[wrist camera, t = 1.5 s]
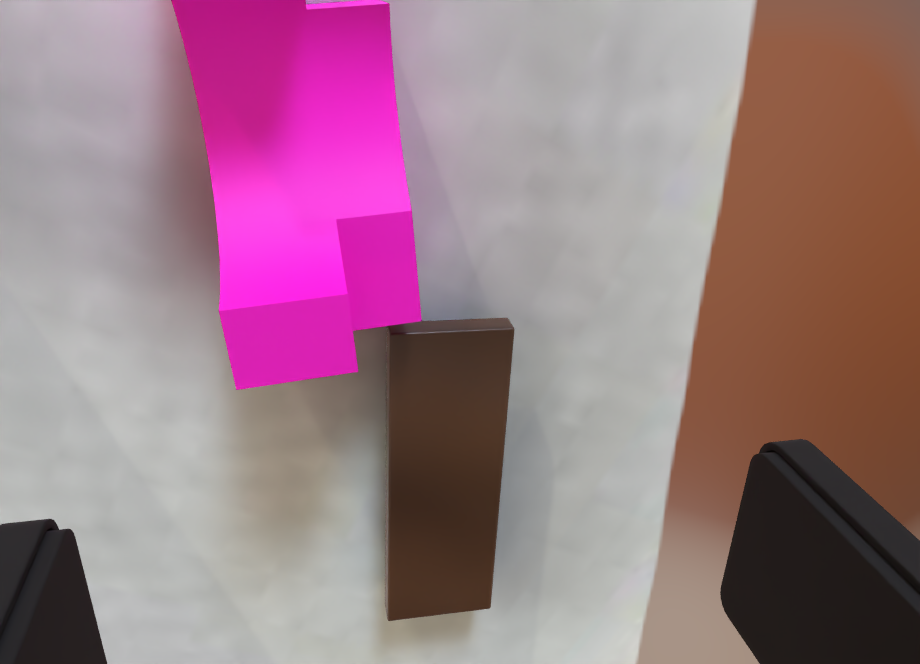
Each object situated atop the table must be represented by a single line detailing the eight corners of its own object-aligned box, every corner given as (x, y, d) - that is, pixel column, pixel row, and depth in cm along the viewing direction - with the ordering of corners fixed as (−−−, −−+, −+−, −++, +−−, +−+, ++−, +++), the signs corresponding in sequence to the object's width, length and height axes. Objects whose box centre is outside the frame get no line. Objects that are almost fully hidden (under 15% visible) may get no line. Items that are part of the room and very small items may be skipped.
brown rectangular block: (382, 306, 31) (389, 333, 29) (498, 302, 32) (515, 328, 30) (381, 582, 37) (387, 621, 35) (478, 571, 38) (490, 609, 36)
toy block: (404, 275, 31) (436, 360, 24) (248, 295, 30) (236, 389, 23) (361, -161, 24) (389, -210, 17) (157, -153, 23) (104, -202, 16)
